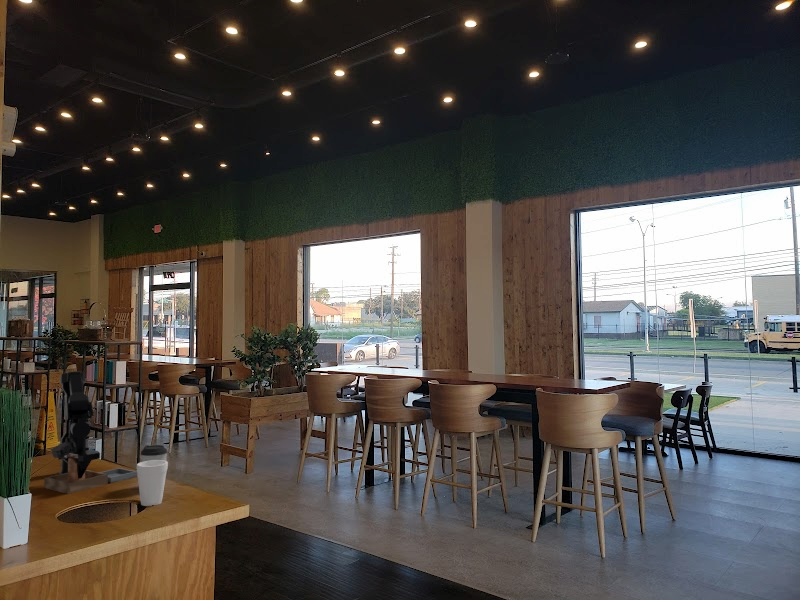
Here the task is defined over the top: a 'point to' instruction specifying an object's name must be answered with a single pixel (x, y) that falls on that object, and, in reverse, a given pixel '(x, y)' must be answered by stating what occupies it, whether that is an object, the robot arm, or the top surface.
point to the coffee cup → (153, 453)
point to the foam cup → (151, 481)
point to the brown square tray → (75, 482)
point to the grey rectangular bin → (119, 475)
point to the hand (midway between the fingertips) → (76, 477)
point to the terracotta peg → (73, 470)
